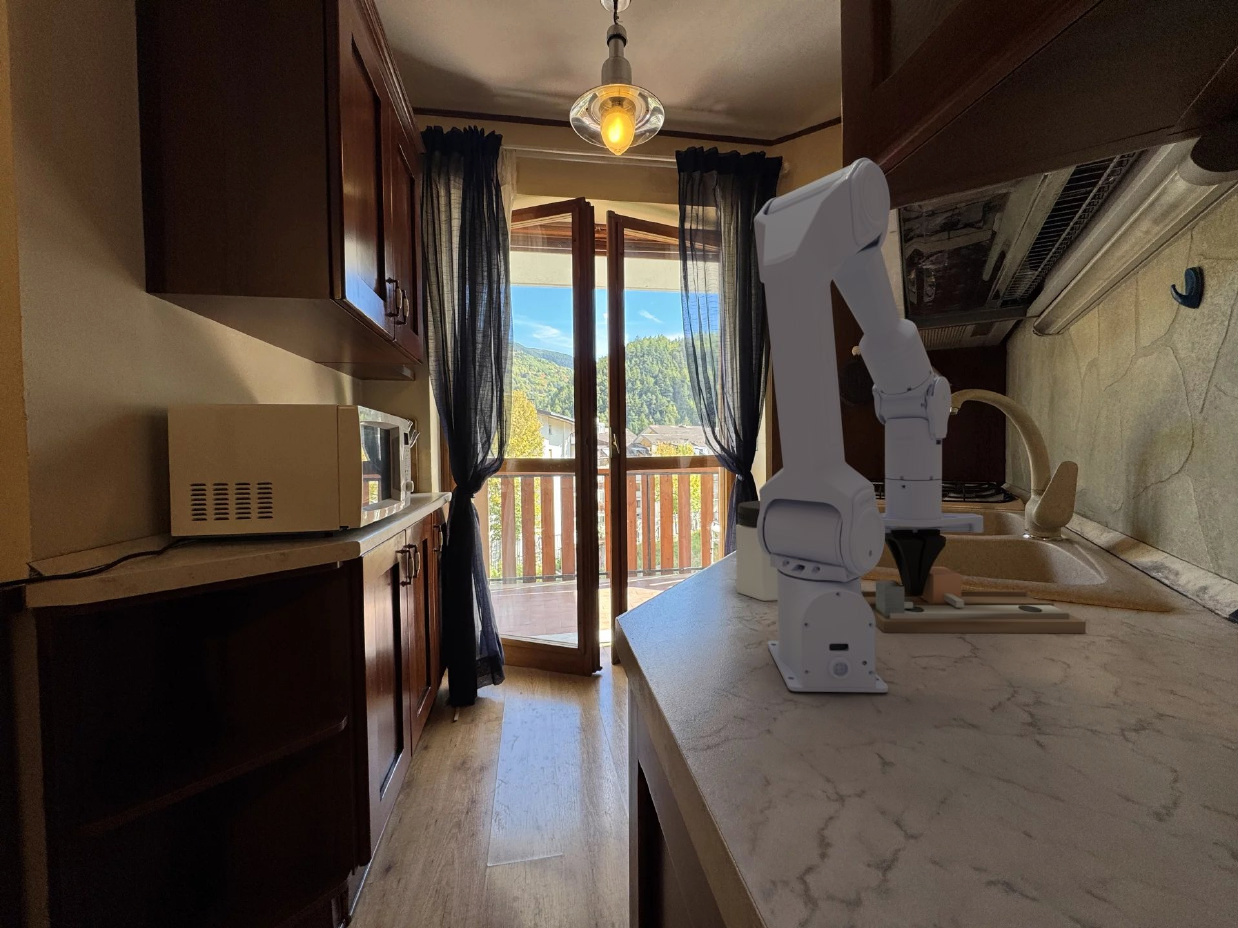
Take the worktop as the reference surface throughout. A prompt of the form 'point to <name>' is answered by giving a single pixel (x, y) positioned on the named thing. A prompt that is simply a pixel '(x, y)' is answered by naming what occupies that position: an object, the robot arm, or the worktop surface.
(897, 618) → the board
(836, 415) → the robot arm
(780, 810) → the worktop surface
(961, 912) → the worktop surface
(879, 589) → the fixed leg
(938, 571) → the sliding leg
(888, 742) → the worktop surface
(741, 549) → the jar
